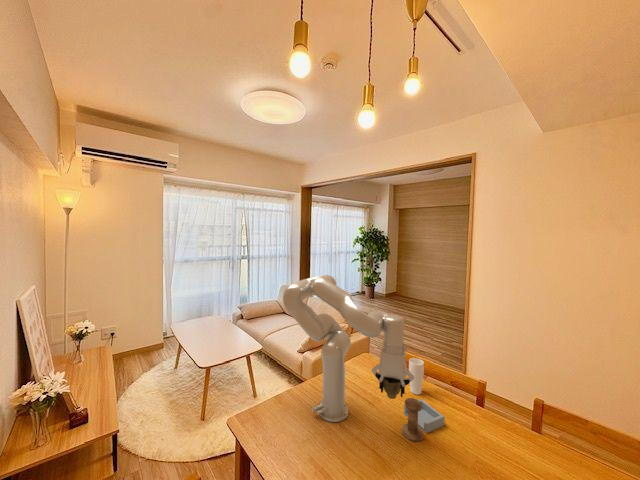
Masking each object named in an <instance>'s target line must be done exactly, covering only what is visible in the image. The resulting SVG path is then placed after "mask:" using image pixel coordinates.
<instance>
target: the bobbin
mask: <svg viewBox="0 0 640 480" xmlns="http://www.w3.org/2000/svg"><path fill="white" fill-rule="evenodd" d="M418 400H419V399H416V398H413V397H407V398H405V400H404V405H405V406H406V408H407V409H408V416H407V422H406V423H404V424H403V425H402V427H401V428H402V429H401V432H402V436H403V437H404V438H405V439H407V440H408V441H411V442H414V443H418V442H422V441H423V439H424V431H423V430H422V429H421V428H420V427H419V426H418V411H420V410H421V409H422V404H421V402H420V401H418Z"/></svg>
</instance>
